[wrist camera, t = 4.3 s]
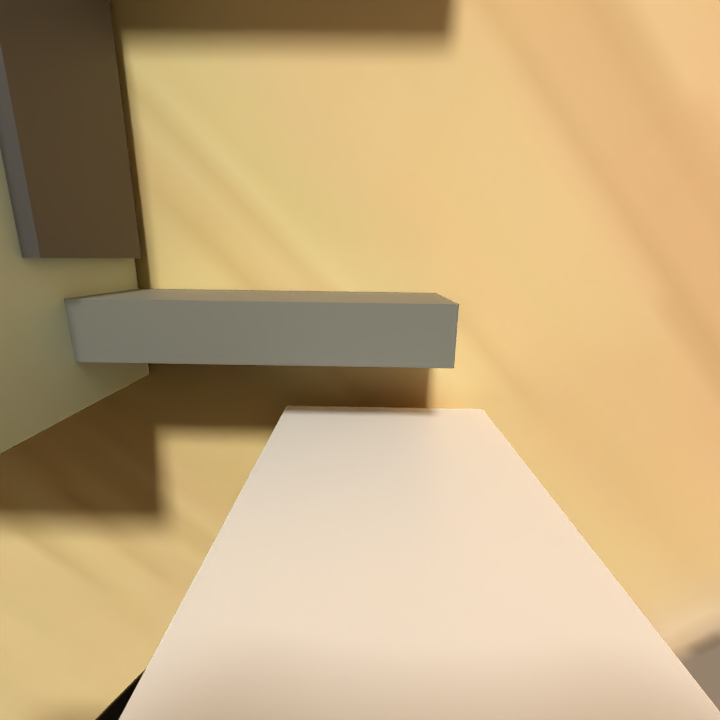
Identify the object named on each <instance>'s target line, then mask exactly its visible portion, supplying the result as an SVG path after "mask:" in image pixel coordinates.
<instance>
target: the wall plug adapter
mask: <svg viewBox="0 0 720 720" xmlns="http://www.w3.org/2000/svg"><path fill="white" fill-rule="evenodd" d="M134 258H141V252H140V244H139V236H138V228H137V220H136V212H135V204H134V196H133V188H132V180H131V172H130V163H129V155H128V147H127V139H126V131H125V123H124V115H123V107H122V99H121V91H120V83H119V75H118V67H117V59H116V51H115V43H114V35H113V27H112V19H111V11H110V3H109V0H0V453H2V452H4V451H6V450H8V449H10V448H12V447H13V446H15V445H17V444H19V443H21V442H23V441H25V440H27V439H28V438H30V437H32V436H34V435H36V434H38V433H40V432H42V431H43V430H45V429H47V428H49V427H51V426H53V425H55V424H57V423H58V422H60V421H62V420H64V419H66V418H68V417H70V416H72V415H74V414H75V413H77V412H79V411H81V410H83V409H85V408H87V407H89V406H90V405H92V404H94V403H96V402H98V401H100V400H102V399H104V398H105V397H107V396H109V395H111V394H113V393H115V392H117V391H119V390H120V389H122V388H124V387H126V386H128V385H130V384H132V383H134V382H136V381H137V380H139V379H141V378H143V377H145V376H147V375H149V368H148V363H166V364H226V365H287V366H347V367H408V368H454V360H455V347H456V334H457V321H458V308H459V304H457V303H455V302H453V301H451V300H449V299H447V298H444V297H442V296H440V295H438V294H436V293H390V292H321V291H253V290H185V289H138V282H137V274H136V267H135V259H134Z"/></svg>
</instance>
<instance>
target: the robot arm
mask: <svg viewBox="0 0 720 720" xmlns="http://www.w3.org/2000/svg"><path fill="white" fill-rule="evenodd" d="M145 670H146V669H145ZM145 670H144V671H145ZM144 671H143V672H142V673H141V674H140V675H139V676H138V677H137V678H136V679H135V680H134V681H133V682H132V683H131V684H130V685H129V686H128V687H127V688H126V689H125V690H124V691H123V692H122V693H121V694H120V695H119V696H118V697H117V698H116V699H115V700H114V701H113V702H112V703H111V704H110V705H109V706H108V707H107V708H106V709H105V710H104V711H103V712H102V713H101V714H100V715H99V716H98V717H97V718H96V719H95V720H119V718H120V716H121V714H122V713H123V711H124V709H125V707H126V705H127V703H128V701H129V699H130V698H131V696H132V694H133V692H134V690H135V688H136V686H137V684H138V683H139V681H140V679H141V677H142V675H143V673H144Z"/></svg>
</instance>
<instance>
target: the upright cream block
mask: <svg viewBox="0 0 720 720" xmlns="http://www.w3.org/2000/svg"><path fill="white" fill-rule="evenodd" d="M119 720H720V711H719V710H718V709H717V708H716V706H715V705H714V704H713V703H712V701H711V700H710V699H709V697H708V696H707V695H706V694H705V693H704V691H703V690H702V688H701V687H700V686H699V685H698V683H697V682H696V681H695V680H694V678H693V677H692V676H691V674H690V673H689V672H688V671H687V669H686V668H685V667H684V666H683V664H682V663H681V662H680V660H679V659H678V658H677V657H676V655H675V654H674V653H673V651H672V650H671V649H670V648H669V646H668V645H667V644H666V643H665V641H664V640H663V639H662V637H661V636H660V635H659V634H658V632H657V631H656V630H655V629H654V627H653V626H652V625H651V623H650V622H649V621H648V620H647V618H646V617H645V616H644V614H643V613H642V612H641V611H640V609H639V608H638V607H637V606H636V604H635V603H634V602H633V600H632V599H631V598H630V597H629V595H628V594H627V593H626V592H625V590H624V589H623V588H622V586H621V585H620V584H619V583H618V581H617V580H616V579H615V577H614V576H613V575H612V574H611V572H610V571H609V570H608V569H607V567H606V566H605V565H604V563H603V562H602V561H601V560H600V558H599V557H598V556H597V555H596V553H595V552H594V551H593V549H592V548H591V547H590V546H589V544H588V543H587V542H586V541H585V539H584V538H583V537H582V535H581V534H580V533H579V532H578V530H577V529H576V528H575V526H574V525H573V524H572V523H571V521H570V520H569V519H568V518H567V516H566V515H565V514H564V512H563V511H562V510H561V509H560V507H559V506H558V505H557V504H556V502H555V501H554V500H553V498H552V497H551V496H550V495H549V493H548V492H547V491H546V489H545V488H544V487H543V486H542V484H541V483H540V482H539V481H538V479H537V478H536V477H535V475H534V474H533V473H532V472H531V470H530V469H529V468H528V467H527V465H526V464H525V463H524V461H523V460H522V459H521V458H520V456H519V455H518V454H517V452H516V451H515V450H514V449H513V447H512V446H511V445H510V444H509V442H508V441H507V440H506V438H505V437H504V436H503V435H502V433H501V432H500V431H499V430H498V428H497V427H496V426H495V424H494V423H493V422H492V421H491V419H490V418H489V417H488V416H487V414H486V413H485V412H484V410H483V409H449V408H393V407H338V406H286V408H285V410H284V412H283V414H282V415H281V417H280V419H279V421H278V423H277V425H276V427H275V428H274V430H273V432H272V434H271V436H270V438H269V440H268V442H267V443H266V445H265V447H264V449H263V451H262V453H261V455H260V457H259V458H258V460H257V462H256V464H255V466H254V468H253V470H252V471H251V473H250V475H249V477H248V479H247V481H246V483H245V485H244V486H243V488H242V490H241V492H240V494H239V496H238V498H237V499H236V501H235V503H234V505H233V507H232V509H231V511H230V513H229V514H228V516H227V518H226V520H225V522H224V524H223V526H222V528H221V529H220V531H219V533H218V535H217V537H216V539H215V541H214V542H213V544H212V546H211V548H210V550H209V552H208V554H207V556H206V557H205V559H204V561H203V563H202V565H201V567H200V569H199V571H198V572H197V574H196V576H195V578H194V580H193V582H192V584H191V585H190V587H189V589H188V591H187V593H186V595H185V597H184V599H183V600H182V602H181V604H180V606H179V608H178V610H177V612H176V613H175V615H174V617H173V619H172V621H171V623H170V625H169V627H168V628H167V630H166V632H165V634H164V636H163V638H162V640H161V642H160V643H159V645H158V647H157V649H156V651H155V653H154V655H153V656H152V658H151V660H150V662H149V664H148V666H147V668H146V670H145V671H144V673H143V675H142V677H141V679H140V681H139V683H138V684H137V686H136V688H135V690H134V692H133V694H132V696H131V698H130V699H129V701H128V703H127V705H126V707H125V709H124V711H123V713H122V714H121V716H120V718H119Z"/></svg>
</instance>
